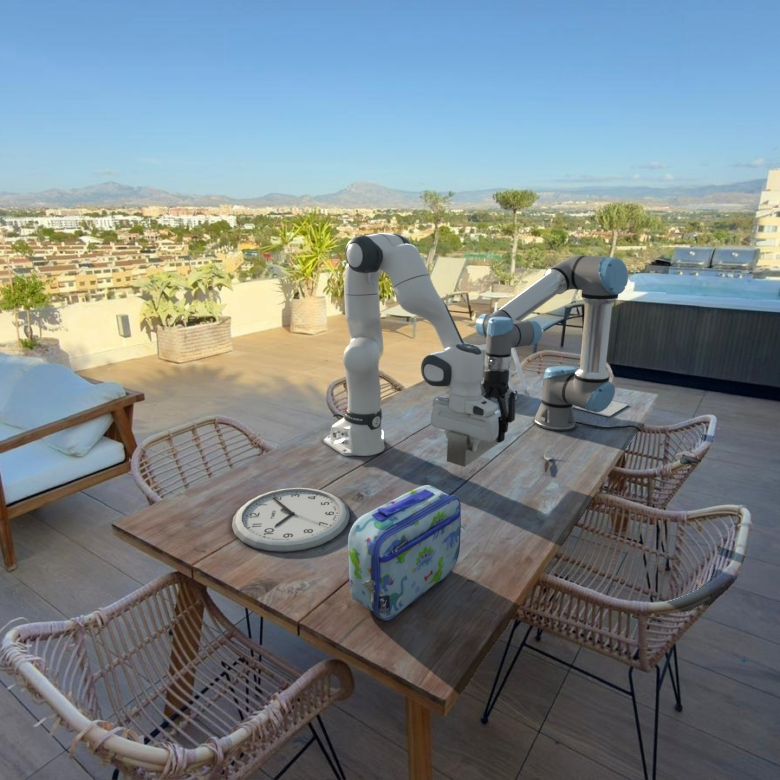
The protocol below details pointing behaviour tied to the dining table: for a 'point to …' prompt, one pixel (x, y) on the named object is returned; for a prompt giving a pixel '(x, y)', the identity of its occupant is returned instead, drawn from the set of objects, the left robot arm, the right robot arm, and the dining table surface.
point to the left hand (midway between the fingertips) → (462, 447)
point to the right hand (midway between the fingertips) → (491, 438)
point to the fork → (547, 459)
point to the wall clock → (290, 519)
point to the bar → (467, 446)
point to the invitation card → (608, 409)
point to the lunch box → (403, 549)
